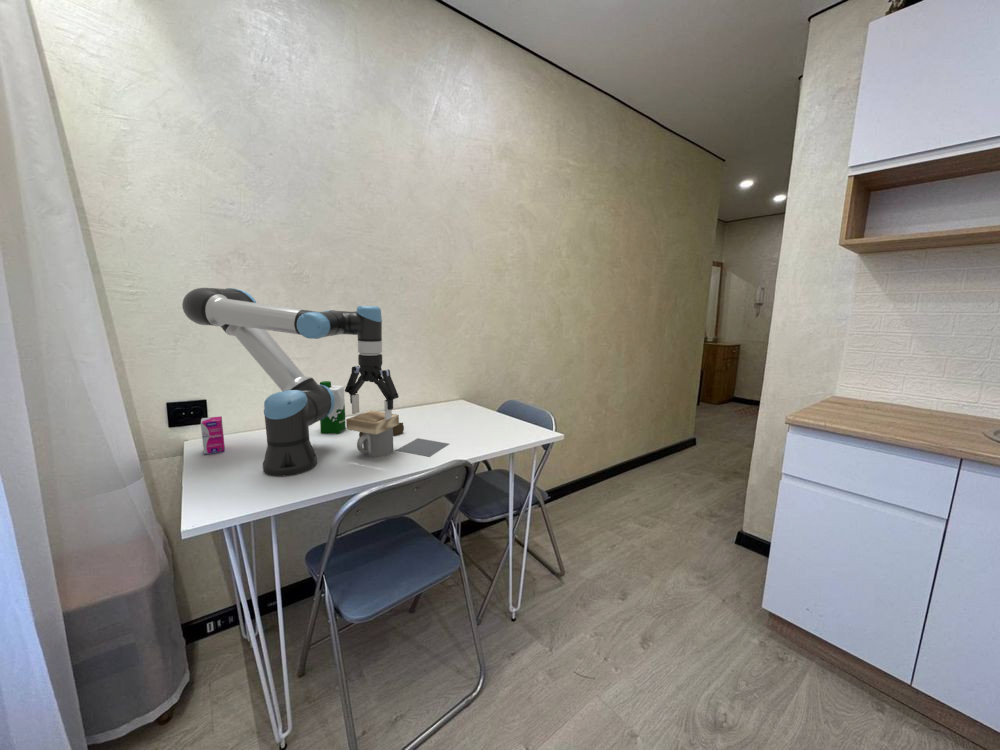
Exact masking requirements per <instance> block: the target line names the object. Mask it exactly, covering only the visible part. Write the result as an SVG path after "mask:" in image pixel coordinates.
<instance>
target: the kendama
mask: <svg viewBox="0 0 1000 750" xmlns="http://www.w3.org/2000/svg"><path fill="white" fill-rule="evenodd" d="M404 426H405V425H404V422H399V425H397V426H394V427H393V437H394V436H395V437H396V436H399V435H401V434H403V433H404V431H405V427H404ZM362 435H363V432H359V433H358V438H359V437H361V436H362Z"/></svg>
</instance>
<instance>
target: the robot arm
mask: <svg viewBox="0 0 1000 750" xmlns="http://www.w3.org/2000/svg"><path fill="white" fill-rule="evenodd" d="M181 305H182V311H183V313H184V314H185V316H186V317H187V318H188V319H189V320H191V322H193V323H194V324H198V325H200V326H201V325H202V326H214V327H220V328H221V329H222V330H223V331H224V332H225V334H226V335H227V336H234V337H235V338H236V339H237V340H238V341H239V342H240V344H241V345H242V346H243V347H244V348H245V349H246V351H247V352H248V354H250V356H251V357H253V358H252V359H254V360H255V361H256V362H257V364H258V365H259V366H260V367H261V368H262V369H263V371H264V372H265V373H266V374H267V375H268V376H269V378H270V379H271V380H272V381H273V383H274V384H276V386H277V387H278V388H279V389H280V390H281V391H279V392H275V393H272V394H270V395H269V396H267V397H266V398H265V400H264V403H263V406H264V407H263V416H264V422H265V432H266V433H265V434H266V444H267V445H266V446H267V447H266V451H265V455H264V460H263V462H262V472H263V474H265V475H267V476H270V477H290V476H294V475H299V474H303V473H305V472H308V471H309V470H312V469H314V468H315V467H316V466H317V464H318V459H317V458H318V457H317V454H316V453H315V450H314V448H313V445H312V443H311V440H310V429H309V427H310V426H312V425H314V424H315V423H316V424H317V423H318V422H320V420H322V419H324V418H325V417H327V416H328V415H329V414H330V413H331V412H332V411H333V409H334V406H335V397H334V394H333V393H332V391H331V390H330V389H329V388H328V387H326V386H324V385H320V384H319V383H318V382H317V381H316V380H315V379H314V378H313V377H312V376H306V375H304V374H303V372H302V371H301V370H300V369H299V367H298V366H297V365H296V364H295V363H294V361H293V360H292V359H291V358H290V357H289V355H287V353H286V352H285V351H284V350H283V348H282V347H281V346H280V345H279V343H278V342H277V341H276V340H275V339H274V337H272V335H271V334H270V333H269V332H268V331H273V332H280V333H285V334H293V335H300V336H302V337H304V338H307V339H309V340H312V339H315V340H317V339H322V338H327V337H333V336H339V335H348V336H350V335H351V336H352V335H353V336H357V353H359V354H358V355H357V356H358V357H357V358H358V360H357V362H358V363H357V364H358V365H354V366H352V367H351V373H350V376H349V378H348V380H347V384H346V386H345V387H344V393H348V394H349V397H350V399H349V400H350V404H351V414H352V415H355V414H356V415H357V414H358V413H360V393H358V392H359V390H360V389H361V388H362V386H363V385H364V384H365V383H366V382H370V383H373V384H375V385H376V386H377V387H378V389H379V390H380V392H381V394H382V395H383V397H385V398H384V399H385V400H384V401H383V402H384V413H385V420H388V419H390V418H392V414H393V411H392V410H393V409H394V400H396V399H398V398H399V393H398V392H397V388H396V385H395V384H394V382H393V378H392V377H391V370H390V369H385V370H384V369H382V366H383V354H382V353H383V335H382V332H383V331H382V330H383V328H382V327H383V326H382V325H383V319H382V318H383V317H382V309H381V308H380V307H379V306H378V305H376V306H375V305H358V306H357V307H356V311H346V310H335V309H332V310H323V311H315V310H309V309H308V310H306V309H301V308H294V307H293V308H292V307H286V306H279V305H272V304H271V305H270V304H265V303H259V302H258V303H257V301H256V300H255V298H254V297H253V296H252V295H251V294H250V293H248V292H247V291H246V290H242V289H237V288H233V287H232V288H231V287H228V288H218V287H217V288H216V287H214V288H213V287H199V288H195V289H192V290H191V291H189V292H187V293H186V294H185V296H184V298H183V300H182V304H181ZM311 468H312V469H311ZM302 472H303V473H302Z"/></svg>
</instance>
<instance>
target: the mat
mask: <svg viewBox="0 0 1000 750" xmlns="http://www.w3.org/2000/svg"><path fill="white" fill-rule="evenodd" d="M449 445H450V443H447V442H442V441H436V440H430V439H424V438H421V437H420V438H419V437H418V438H416V439H414V440H412V441H410V442H408V443H406V444H404V445H403V446H400V447H399V448H397V449H395V451H396V452H399V453H400V452H401V453H407V454H412V455H416V456H422V457H426V458H427V457H428V458H431V457H432V456H434V455H435V454H436V453H438V452H440V451H441V450H443V449H445V448H446V447H447V446H449Z"/></svg>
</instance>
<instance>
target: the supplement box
mask: <svg viewBox="0 0 1000 750" xmlns="http://www.w3.org/2000/svg"><path fill="white" fill-rule="evenodd" d="M223 427H224V426H223V418H222V416H219V415H218V416H213V417H211V416H210V417H202V418H201V419H200V431H201V438H202V440H201V441H202V447H203V448H202V449H203V455H204V456H206V455H212V454H217V453H218V454H219V453H224V452H225V450H226V449H225V447H226V445H225V437H224V436H225V435H224V428H223Z"/></svg>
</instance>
